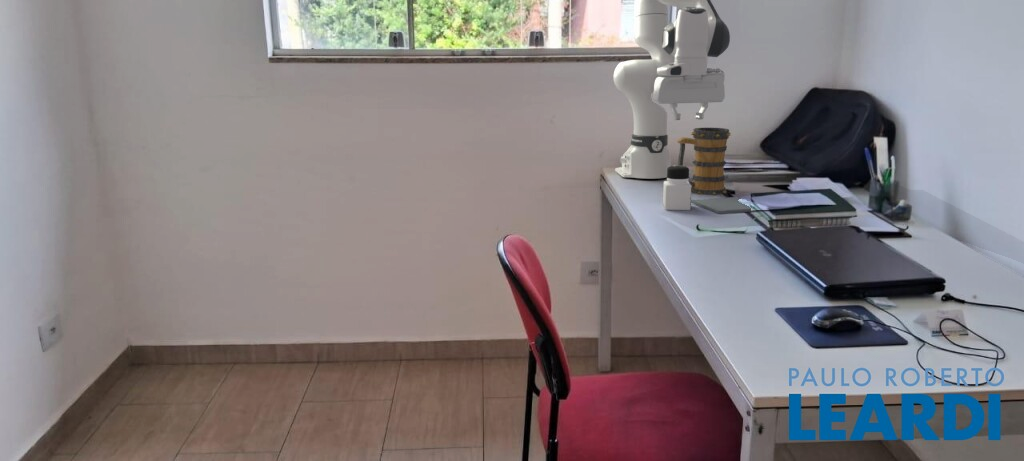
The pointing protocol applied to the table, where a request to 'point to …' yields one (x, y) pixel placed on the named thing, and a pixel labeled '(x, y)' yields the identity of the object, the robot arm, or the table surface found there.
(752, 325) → the table surface
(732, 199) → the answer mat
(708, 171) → the mug
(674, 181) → the medicine bottle
